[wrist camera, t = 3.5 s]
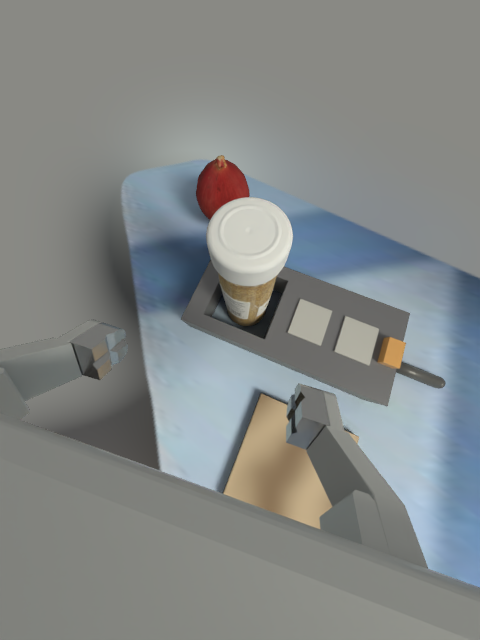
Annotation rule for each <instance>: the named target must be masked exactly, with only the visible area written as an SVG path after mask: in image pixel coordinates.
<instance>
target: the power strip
mask: <svg viewBox="0 0 480 640" xmlns="http://www.w3.org/2000/svg"><path fill="white" fill-rule="evenodd" d="M273 290H274V291H277V292H279V293H282V294H281V297H280V299H279V302H278V304H277V307H276V309H275V312H274V314H273V317H272V319H271V322H270V324H269V327H268V329H267V332H266V334H265V337H264V339H263V338H260V337H258V336H255V335H253V334H250V333H248V332H246V331H243V330H241V329H238V328H236V327H234V326H231V325H229V324H226V323H224V322H221V321H219V320H217V319H214V318H212V315H213V313H214V311H215V309H216V307H217V305H218V302H219V300H220V298H221V296H222V294H223V293H222V289H221V286H220V282H219V275H218V272H217V271H216V269H215V268H214V266H213V263H212V261H211V260H210V262H209V264H208V266H207V268H206V270H205V272H204V274H203V276H202V278H201V280H200V282H199V284H198V286H197V288H196V290H195V292H194V294H193V296H192V298H191V300H190V302H189V304H188V306H187V308H186V310H185V312H184V314H183V316H182V318H181V320H183V321H184V322H185V323H186V324H188V325H189V326H190V327H193V328H195V329H198V330H200V331H202V332H205V333H207V334H209V335H212V336H214V337H216V338H219V339H221V340H223V341H226V342H228V343H231V344H233V345H235V346H238V347H240V348H242V349H245V350H247V351H249V352H252V353H254V354H257V355H259V356H261V357H264V358H266V359H268V360H271V361H273V362H275V363H278V364H280V365H282V366H285V367H287V368H290V369H292V370H294V371H297V372H299V373H301V374H304V375H306V376H308V377H311V378H313V379H316V380H318V381H320V382H323V383H325V384H327V385H330V386H332V387H334V388H337V389H339V390H341V391H344V392H346V393H349V394H351V395H353V396H356V397H358V398H360V399H363V400H366V401H370V402H373V403H377V404H381V405H385V406H388V402H389V398H390V394H391V390H392V386H393V381H394V377H395V373H396V372H397V373H400V374H402V375H405V376H407V377H410V378H412V379H415V380H417V381H420V382H422V383H424V384H427V385H429V386H432V387H434V388H443V387H444V386H445V381H444V379H443V378H441V377H439V376H436V375H434V374H431V373H429V372H426V371H424V370H421V369H419V368H416V367H414V366H411V365H408V364H406V363H403V362H401V361H402V357H403V353H404V348H405V344H406V343H405V342H403V340H404V336H405V332H406V328H407V323H408V319H409V315H410V313H408V312H405V311H403V310H400V309H397V308H394V307H392V306H389V305H386V304H384V303H381V302H378V301H375V300H373V299H370V298H367V297H365V296H362V295H359V294H356V293H354V292H351V291H348V290H346V289H343V288H340V287H338V286H335V285H332V284H329V283H327V282H324V281H321V280H319V279H316V278H313V277H310V276H308V275H305V274H302V273H300V272H297V271H294V270H291V269H289V268H286V267H283V268H282V270H281V271H280V272H279V274H278V275H277V277H276V280H275V283H274V288H273Z"/></svg>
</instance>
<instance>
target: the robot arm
mask: <svg viewBox="0 0 480 640" xmlns="http://www.w3.org/2000/svg"><path fill="white" fill-rule="evenodd" d="M125 337H126V333H125V330H123V329H121V328H117V327H115V326H112V325H109V324H106V323H102V322H99V321H96V320H88V321H86V322H85V323H83V324H81V325H80V326H78V327H76V328H74V329H73V330H71V331H69V332H67V333H66V334H64V335H62V336H61V337H59V338H57V339H56V338H50V339H45V340H41V341H36V342H32V343H27V344H23V345H18V346H14V347H9V348H4V349H0V640H480V588H479V587H477V586H474V585H471V584H468V583H466V582H463V581H460V580H458V579H455V578H452V577H449V576H447V575H444V574H441V573H438V572H436V571H433V570H430V569H428V567H427V564H426V561H425V559H424V556H423V553H422V551H421V548H420V545H419V542H418V540H417V537H416V534H415V532H414V529H413V526H412V524H411V521H410V518H409V516H408V513H407V510H406V508H405V505H404V504H403V503H402V501H401V500H400V499H399V497H398V496H397V495H396V494H395V492H394V491H393V490H392V488H391V487H390V486H389V485H388V483H387V482H386V481H385V479H384V478H383V477H382V476H381V474H380V473H379V472H378V470H377V469H376V468H375V466H374V465H373V464H372V463H371V461H370V460H369V459H368V457H367V456H366V455H365V454H364V452H363V451H362V450H361V448H360V447H359V446H358V445H357V443H356V442H355V441H354V439H353V438H352V437H351V436H350V434H349V433H348V432H345V431H344V428H343V423H342V419H341V415H340V411H339V407H338V403H337V398H336V396H335V394H333V393H329V392H326V391H323V390H319V389H316V388H313V387H309V386H306V385H303V384H298V385H297V386H296V388H295V394H294V395H291V397H290V399H289V402H288V406H287V414H286V417H287V419H288V420H289V423H288V424H287V426H286V443H289V444H291V445H294V446H297V447H300V448H302V449H305V450H307V451H306V452H307V454H308V456H309V458H310V460H311V462H312V465H313V467H314V469H315V471H316V473H317V475H318V477H319V479H320V482H321V484H322V486H323V488H324V490H325V492H326V494H327V496H328V499H329V501H330V503H331V505H332V507H331V508H330V509H329V510H328V511H326V512H325V513H324V514H322V515H321V516H320V517H319V519H320V529H318V528H315V527H312V526H310V525H307V524H304V523H302V522H299V521H296V520H293V519H291V518H288V517H285V516H282V515H280V514H277V513H274V512H271V511H269V510H266V509H263V508H260V507H258V506H255V505H252V504H250V503H247V502H244V501H241V500H239V499H236V498H233V497H230V496H228V495H225V494H222V493H219V492H217V491H214V490H211V489H208V488H206V487H203V486H200V485H198V484H195V483H192V482H189V481H187V480H184V479H181V478H178V477H176V476H173V475H170V474H167V473H165V472H162V471H159V470H156V469H153V468H151V467H148V466H146V465H143V464H140V463H137V462H135V461H132V460H129V459H126V458H124V457H121V456H118V455H115V454H113V453H110V452H107V451H104V450H102V449H99V448H96V447H94V446H90V445H88V444H85V443H83V442H80V441H77V440H74V439H71V438H69V437H66V436H63V435H61V434H58V433H55V432H52V431H50V430H47V429H44V428H41V427H39V426H36V425H33V424H31V423H28V422H25V421H22V420H21V419H22V418H23V417H25V416H26V415H27V414H28V413H29V411H30V409H29V407H28V406H27V404H26V402H25V401H26V400H29V399H31V398H33V397H35V396H38V395H40V394H42V393H45V392H47V391H49V390H51V389H54V388H56V387H58V386H60V385H63V384H65V383H67V382H69V381H72V380H74V379H76V378H78V377H81V376H82V375H84V376H88V377H91V378H94V379H98V380H101V379H102V378H103V377H104V376H105V375H106V374H107V373H108V372H110V371H111V369H112V365H114V364H117V363H119V362H120V361H121V360H122V359H123V358H124V357H125V355H126V353H127V349H128V347H127V343H126V342H125V340H124V338H125Z"/></svg>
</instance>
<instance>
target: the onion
mask: <svg viewBox="0 0 480 640" xmlns="http://www.w3.org/2000/svg"><path fill="white" fill-rule="evenodd" d="M196 196H197V201H198V204H199V207H200V209H201V210H202V212H203V213H204V214H205V216H206V217H207V218H208V219H210V220H211V218H212V216H213V215H214V214H215V212H216V211H217V210H218V209H219V208H220V207H222V206H223V205H225V204H226V203H228V202H230V201H233V200H235V199H239V198H245V197H249V188H248V185H247V181H246V178H245V176H244V174H243V173H242V172H241V171H240V169H239V168H238V167H237V166H236V165H235V164H233V163H231V162H229V161H228V160H225V159H224V156H222V155H221V156H218V157H217V158H216V159H215V160H213V161H212V162H210V163H208V164H207V165H206V167H205V168H204V169H203V171H202V172H201V174H200V175H199V177H198V183H197V190H196Z"/></svg>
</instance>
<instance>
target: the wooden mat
mask: <svg viewBox="0 0 480 640" xmlns="http://www.w3.org/2000/svg"><path fill="white" fill-rule="evenodd" d="M287 406H288V405H287V404H285V403H283V402H280V401H278V400H276V399H274V398H271V397H269V396H267V395H265V394H262V393H261V394H260V397H259V399H258V402H257V404H256V407H255V410H254V412H253V415H252V418H251V420H250V423H249V426H248V428H247V431H246V434H245V436H244V439H243V441H242V444H241V447H240V449H239V452H238V455H237V457H236V460H235V463H234V465H233V468H232V470H231V473H230V476H229V478H228V481H227V484H226V486H225V489H224V492H223V494H225V495H228V496H230V497H233V498H236V499H239V500H241V501H244V502H247V503H250V504H252V505H255V506H258V507H260V508H263V509H266V510H269V511H271V512H274V513H277V514H280V515H282V516H285V517H288V518H291V519H293V520H296V521H299V522H302V523H304V524H307V525H310V526H312V527H315V528H318V529H320V519H319V517H320V516H321V515H322V514H324V513H325V512H326V511H328V510H329V509H330V508H331V507H332V505H331V503H330V501H329V499H328V496H327V494H326V492H325V490H324V488H323V486H322V484H321V482H320V479H319V477H318V475H317V473H316V471H315V469H314V467H313V465H312V462H311V460H310V458H309V456H308V454H307V452H306V451H307V450H305V449H302V448H300V447H297V446H294V445H291V444H289V443H286V426H287V424H288V423H289V420H288V419H287V417H286V414H287ZM344 431H345V432H348V431H346V430H344ZM348 433H349V434H350V436H351V437H352V438H353V439H354V441H355V442H356V443H358V439H359V437H358V436H356V435H355V434H352V433H350V432H348Z"/></svg>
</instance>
